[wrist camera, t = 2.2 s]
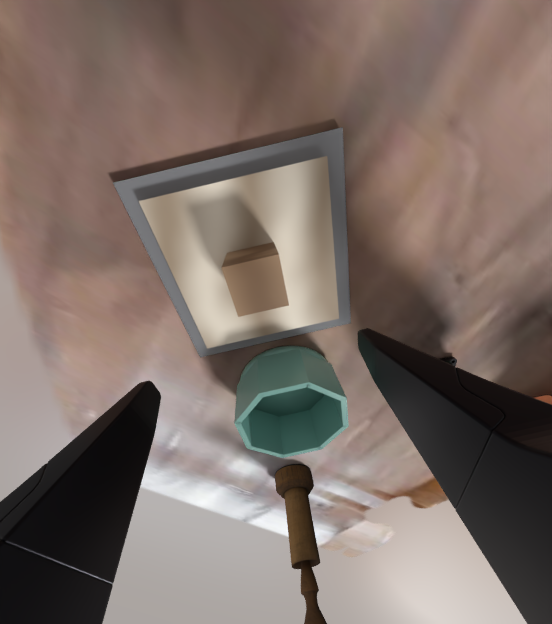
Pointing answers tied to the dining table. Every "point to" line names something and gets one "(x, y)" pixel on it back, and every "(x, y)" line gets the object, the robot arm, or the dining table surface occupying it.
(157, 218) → the lid
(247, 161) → the mat
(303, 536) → the brown wooden upright piece
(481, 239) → the dining table surface
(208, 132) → the dining table surface
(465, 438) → the robot arm
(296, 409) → the bowl
